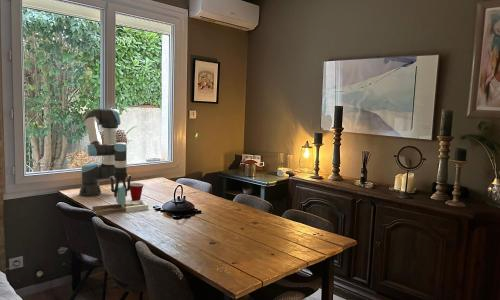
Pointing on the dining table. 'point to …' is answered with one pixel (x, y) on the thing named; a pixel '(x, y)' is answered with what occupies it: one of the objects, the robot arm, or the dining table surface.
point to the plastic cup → (136, 191)
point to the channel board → (111, 211)
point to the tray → (141, 206)
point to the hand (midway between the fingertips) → (120, 201)
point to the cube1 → (128, 204)
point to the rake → (121, 194)
